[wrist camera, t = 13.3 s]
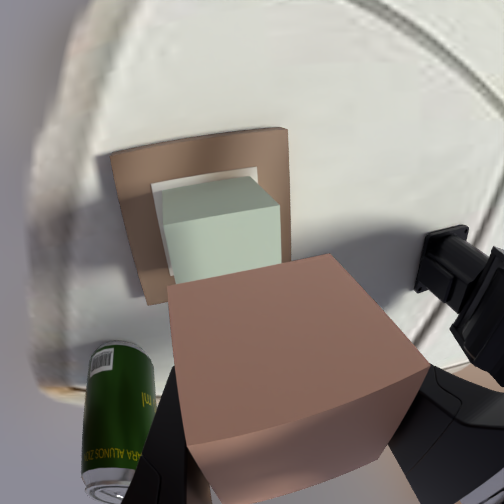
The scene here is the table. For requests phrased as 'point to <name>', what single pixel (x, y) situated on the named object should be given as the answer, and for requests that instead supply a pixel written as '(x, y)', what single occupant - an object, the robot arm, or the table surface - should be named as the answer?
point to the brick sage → (220, 228)
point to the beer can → (116, 418)
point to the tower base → (190, 173)
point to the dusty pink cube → (287, 376)
